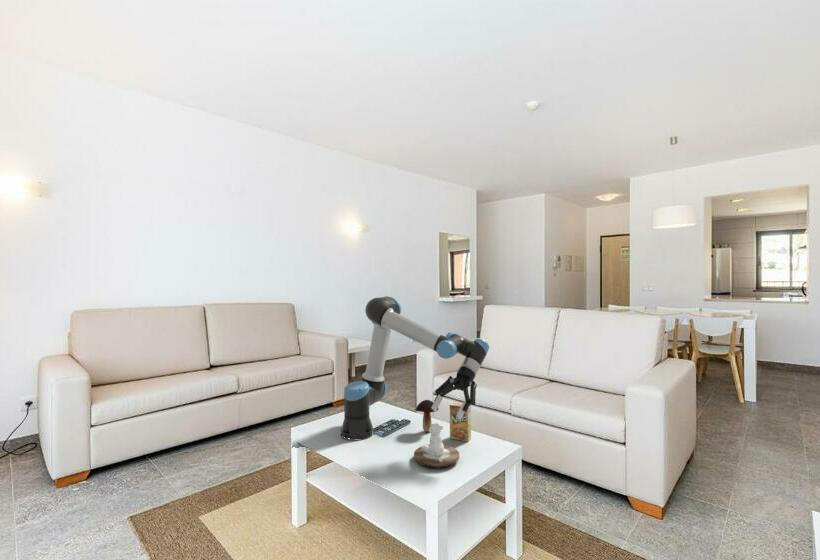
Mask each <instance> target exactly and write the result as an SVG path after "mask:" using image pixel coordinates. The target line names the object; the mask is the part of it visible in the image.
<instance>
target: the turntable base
mask: <svg viewBox="0 0 820 560" xmlns="http://www.w3.org/2000/svg"><path fill="white" fill-rule="evenodd" d="M421 465H422V466H424V467H426V468H431V469H444V468H448V467H450V466H453V464H451V465H447V466H428V465H424V464H421Z"/></svg>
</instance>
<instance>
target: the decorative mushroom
mask: <svg viewBox="0 0 820 560" xmlns="http://www.w3.org/2000/svg"><path fill="white" fill-rule="evenodd" d="M433 404H434V401H432V400H429V399H425V400H422V401H420V402H419V403H418V404H417V406H416V408H415V411H416V412H419V413H420V412H421V413H423V417H422V429H423V431H424V432H425V433H430V432H429V428H430V427H431V425H432V424H433V423H432V416H431V413H435V411H434V410H433V409H432V408H431V407H432V406H433ZM439 409H440V408H439V407H438V408H437V410H436V412H437V411H439Z"/></svg>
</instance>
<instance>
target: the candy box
mask: <svg viewBox="0 0 820 560" xmlns="http://www.w3.org/2000/svg"><path fill="white" fill-rule="evenodd" d="M462 404H463V403H455V402H452V403H450V404H449V439H450V440H451V439H453V440H457V441H462V442H466V443H469V441H470V440H472V418H471V417H472V412H471V411H472V407H471V406H472V405H470V406H469V408H468V410H467V411H466V412H465V413H464V415H463V417H462V419H461V420H460V419H459V418H458V417H457V416H456V415H457V413H458V411H459V409H460V407H461V406H462Z"/></svg>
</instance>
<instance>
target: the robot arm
mask: <svg viewBox="0 0 820 560" xmlns="http://www.w3.org/2000/svg"><path fill="white" fill-rule="evenodd" d="M364 312H365V315H366V318H367V319H368V320H369V321H370V322H371V323H372V325H373V330H372V335H371V339H370V340H371V341H370V348H369V352H368V358H367V363H366V368H365V372H364V373H362V375H361V379H360V380H356V381H351V382H349V383H348V384H346V385H345V387H344V389H343V404H344V407H343V410H344V415H343V416H344V418H343V422H342V425H341V429H340V436H341V435H342V436H343V437H345V438H350V439H362V440H364V439H363V438H366V439H369V438H371V437H372V436H373V435H372V430H373V431H374V426H373V423H372V420H371V418H370V417H371V416H370V407H371V406H373V405H374V404H376V403H378V402H379V401H381V400H382V399H383V398H384V397H385V394H386V392H387V384H386V381H385V380H386V377H385V376H384V369H385V364H386V358H387V354H388V353H387V352H388V348H389V343H390V337H391V332H392V331H395V332H396V333H399V334H400V335H403V336H404V337H406V338H408V339H411V340H413V341H414V342H416V343H418V344H420V345H422V346H424V347H426V348H428V349H429V350H431V351H434V352H436V353H437V354H438V356H439V357H440V358H442V359H446V360H447V359H450V358H453V357H455V356H456V355H457V354H459V355H461V356H463V357H464V359H463V361H462V363H461V365H460V367H459V368H458V370H457V372H456V376H455V377H453V376H451V375H449V376H448V378H447V379H446V380H445V381H444V382H443V383H442V384H441V385H440V386H439V387H438V388H436V390H435V391H434V393H435V394H436V396H435V398H434V400H433V402H434V404H433V406H432V407H431V408H432V409H433V410H434V411H435V412H437V411H436V410H437V408H438V409H439V407H440V405H441V403H442V401H443V399H444V398H443V397H445V396H446V395H448V394H449V393H451V392H452V391H456V390H457V391H462V392H463V396H464V401H463V402H462V403H461V404H462V406H461V407H460V409H459V411H458V413H457V415H456V416H457V417H458V418H459V419H460V420H461V419H462V417H463V415H464V413H465V412H466V411H467V410H468V408H469V406H470V405H471V406H475V405H476V396H477V395H476V394H477V393H476V390H477V386H478V385H477V383H476V382H475V378H476V375H477V374H478V371H479V370H480V367H481V366H482V364H483V362H484V360H485V358H486V356H487V354H488V352H489V349H490V345H489V343H488V342H487V341H486V340H484V339H482V338H478V337H477V338H475V339H474V340H470V339H468V338H465V337H464V336H461V335H459V334H457V333H456V332H452V331H449V332H448V333H447V334H445V336H444V335H442V334H441V333H439V332H438V331H436V330H432V329H431V328H428V327H426V326H424V325H423V324H421V323H418V322H416V321H415V320H412V319H410V318H408V317H406V316H405V315H402V314H401V313H402V305H401V303H400V302H399V300H398V299H397V298H395V297H393V296H381V297H373V298H372V299H370V300H369V301H367V304H366V305H365V310H364ZM469 388H470V389H469ZM469 390H470V391H469ZM435 412H434V413H435ZM371 435H372V436H371ZM370 436H371V437H370ZM368 437H369V438H368Z"/></svg>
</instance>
